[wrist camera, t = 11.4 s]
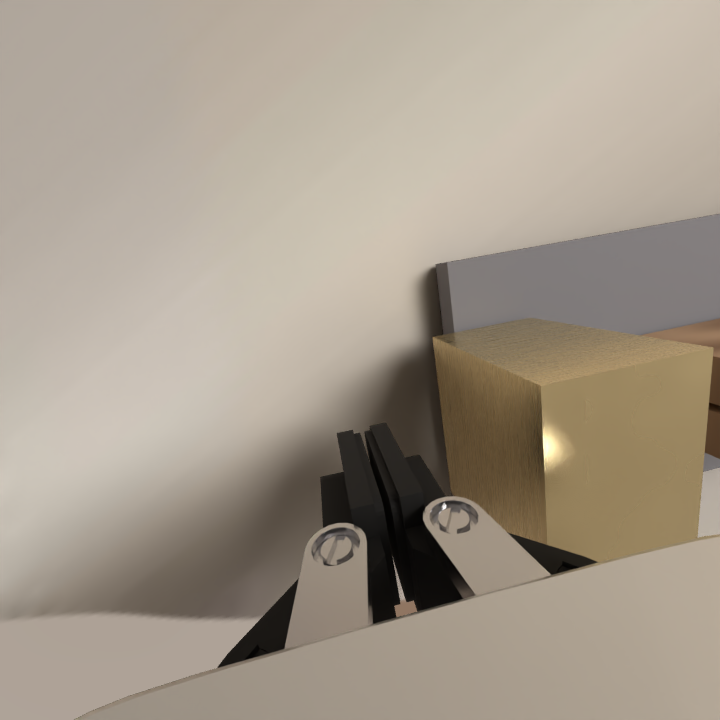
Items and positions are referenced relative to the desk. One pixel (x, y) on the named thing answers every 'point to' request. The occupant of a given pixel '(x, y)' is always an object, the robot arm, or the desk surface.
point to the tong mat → (594, 283)
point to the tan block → (576, 433)
